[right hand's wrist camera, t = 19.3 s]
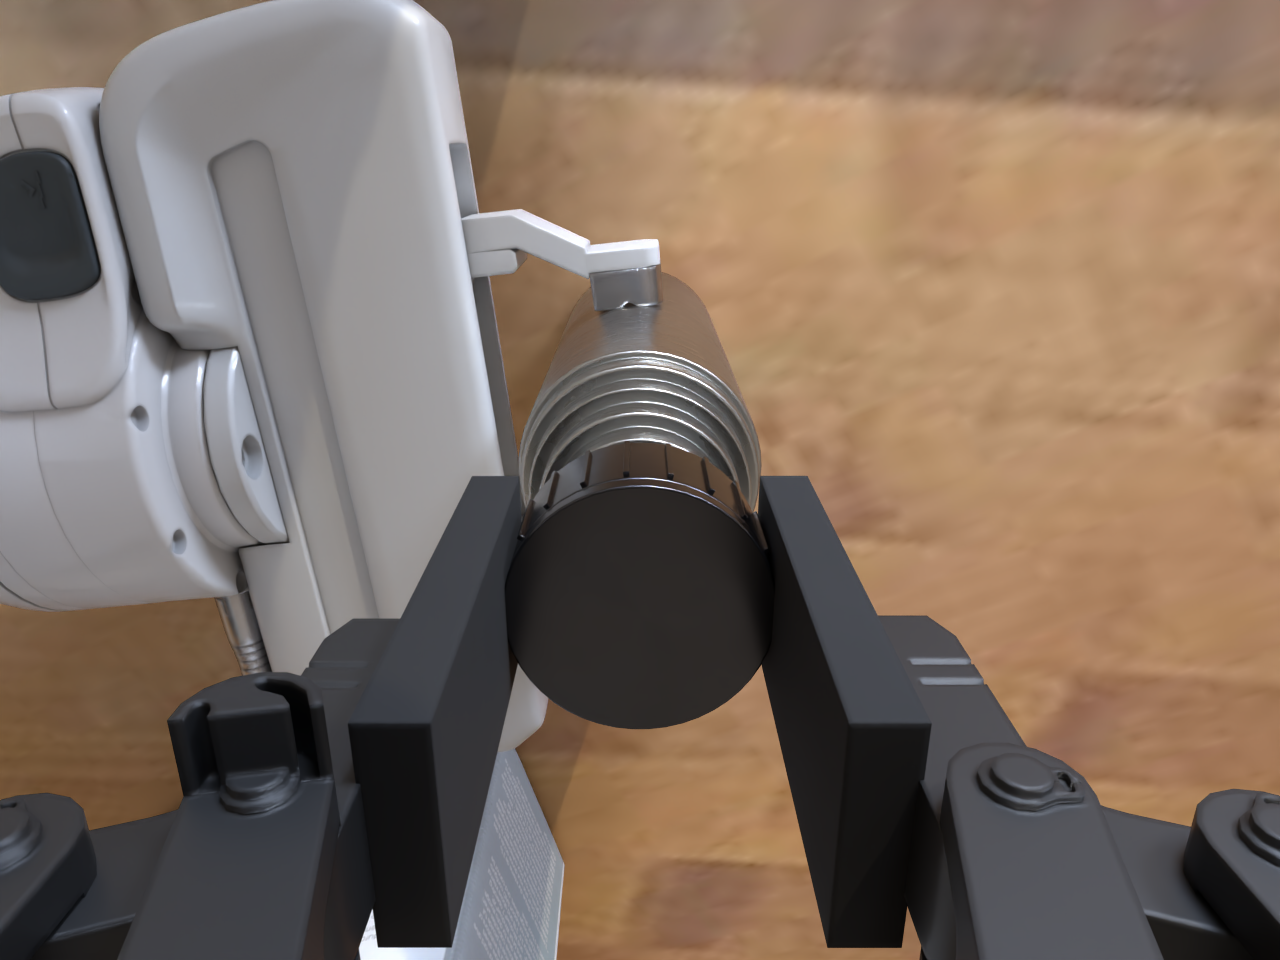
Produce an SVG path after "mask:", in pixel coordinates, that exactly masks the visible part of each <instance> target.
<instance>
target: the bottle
mask: <svg viewBox="0 0 1280 960" xmlns="http://www.w3.org/2000/svg"><path fill="white" fill-rule="evenodd" d="M661 274H662V286H663V298H664V301H663V302H662V303H659V304H656V305H650V306H636V305H634V304H632V303H631V302H628V303H626V304H625V305H624V306H623V307H622V308H617V309H612V310H602V311H595V310H594V303H593V296H592V289H591V287H590V288H589V289H588V290H587V291H586V292H585V293H584V294H583V295H582V297H581V298H580V299H579V300H578V302H577V304H576V305H575V307H574V309H573V311H572V313H571V315H570V318H569V320H568V322H567V325H566V327H565V330H564V332H563V335H562V337H561V340H560V342H559V345H558V347H557V350H556V352H555V355H554V357H553V360H552V362H551V364H550V367H549V369H548V372H547V374H546V377H545V379H544V382H543V384H542V387H541V389H540V392H539V394H538V397H537V399H536V401H535V404H534V406H533V409H532V411H531V414H530V416H529V419H528V421H527V424H526V426H525V429H524V432H523V436H522V440H521V444H520V452H519V477H520V484H521V491H522V497H523V502H524V505H525V508H526V507H527V503H528V501H529V500H530V499H532V500H534V498H535V496H536V495H537V494H538V492H539V491H540V490H541V488H542V487H543V486H544V484H545V483H546V482H547V481H548V480H549V479H550V478H551V474H552V472H553V471H555V470H556V471H557V472H558V471H559V470H560V469H562V468H563V467H564V466H566V465H567V464H568V463H570V462H572V461H574V460H575V459H577V458H579V457H581V456H582V455H585V451H588V450H590V451H591V452H592V451H595V450H597V449H600V448H604V447H608V446H612V445H617V444H624V441H630V443H655V444H664V445H665V443H670V444H671V446H672V447H676V448H680V449H682V450H685V451H688V452H690V453H693V454H695V455H697V456H699V457H701V458H703V457H704V456H705V457H706V458H708V459H709V462H710V463H711V464H713V465H714V466H715V467H717V468H718V469H719V470H721V471H722V472H723V473H724V474H725V475H726V476H727V477H728V478H729V479H730V480H732V481H735V480H736V481H737V482H738V484H739V487H740V491H741V492H742V494H743V495H744V497H745V499H746V500H747V502H748V504H749V505H750V507H751V510H752V512H753V511H754V509H755V505H756V501H757V496H758V491H759V484H760V476H761V450H760V445H759V440H758V436H757V433H756V430H755V427H754V424H753V421H752V419H751V416H750V414H749V411H748V409H747V406H746V404H745V401H744V399H743V396H742V394H741V392H740V389H739V387H738V384H737V382H736V379H735V377H734V374H733V372H732V369H731V367H730V364H729V362H728V360H727V357H726V355H725V352H724V350H723V347H722V345H721V342H720V340H719V337H718V335H717V332H716V330H715V328H714V325H713V323H712V320H711V318H710V315H709V313H708V311H707V309H706V307H705V305H704V304H703V302H702V301H701V299H700V298H699V297H698V295H697V294H696V293H695V292H694V291H693V290H692V289H691V288H690V287H688V286H687V285H686V284H685V283H683V282H682V281H680V280H679V279H677V278H675V277H673V276H671V275H669V274H667V273H663V272H661Z"/></svg>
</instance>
